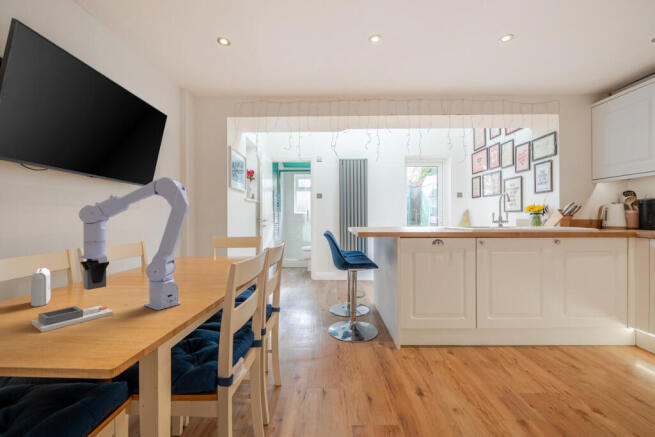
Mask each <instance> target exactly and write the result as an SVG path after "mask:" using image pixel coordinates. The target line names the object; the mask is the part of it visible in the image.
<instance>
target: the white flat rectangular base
mask: <svg viewBox="0 0 655 437" xmlns="http://www.w3.org/2000/svg"><path fill="white" fill-rule="evenodd" d="M111 315H114V310H112V309H110V308H108V307H107V306H106V305H104V306H103V305H98V306H92V307H89V308H83V309H82V308H80V307H78V306H75V305H74V306H68V307H65V308H59V309H56V310H50V311H46V312H45V311H44V312H40V313H38V316H37V318H38V319H35V320H31V325H32V326H34V327H35V328H36V329H37V330H39V331H40V332H42V333H43V332H48V331H51V330H55V329H60V328H64V327H69V326H71V325H76V324H80V323H85V322H88V321H92V320H97V319H99V318H104V317H107V316H111Z"/></svg>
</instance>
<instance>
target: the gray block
mask: <svg viewBox="0 0 655 437" xmlns="http://www.w3.org/2000/svg"><path fill="white" fill-rule="evenodd" d="M82 271H83V289H84V290H86V291H89V290H95V289H101V288H106V287H107V269H106V270H105V272H104V276H103V279H102V282H101V283H96V284H93V282H92V277H91V272H90V270H85V269H83V270H82Z"/></svg>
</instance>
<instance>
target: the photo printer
mask: <svg viewBox="0 0 655 437" xmlns="http://www.w3.org/2000/svg"><path fill="white" fill-rule="evenodd" d="M51 293H52V292H51V271H50V270H49V269H48V268H46V267H41V268H40V267H39V268H37V269H36V270H34V271H33V272H32V273H31V275H30V305H31V307H35V308H36V307H42V306H45V305H47V304H48V303H49V302H50V300H51Z"/></svg>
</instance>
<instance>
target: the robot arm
mask: <svg viewBox="0 0 655 437" xmlns="http://www.w3.org/2000/svg"><path fill="white" fill-rule="evenodd" d="M187 194H188V193H187V188H186V187H185V186H184V184H182V183H181V182H180V181H178V180H174V179H171V178H170V177H167V176H165V177H160V178H158V179H155V180H152V181H151V182H149V183H147V184H145V185H143V186H142V187H140V188H138V189H137V188H136V189H134V190H133V191H131V192H129V193H127V194H125V195H120V194H117V195H115V194H111V195H109V196H108V198H107V199H104V200H103V201H97V202H95V204H94V205H87V204H86V205H84V207H82V208H81V209H80V210H79V213H78V217H79V219H80V221H82V222H83V223H82V224H83V225H82V226H83V228H82V229H83V253H82V254H83V255H78V259H83V260H84V261H80V262H79V263H80V265H81V266H82V267H83V270H90V272H91V277H92V282H93V284H96V283H101V282H102V279H103V276H104V272H105V270H106V271H107V268H108V266H109V265H110V261H108V256H107V249H106V248H107V245H106V244H107V242H106V241H107V236H106V235H107V231H106V229H107V228H106V227H107V222H108V220H109V219H110V218H112V217H115V216H117V215H119V214H121V213H124V212H125V211H128V210H129V208H130V206H131V205H132V204H135V203H137V202H140V201H142V200H144V199H148V198H150V197H152V196H156V197H157V196H158V197H162V198H164V199H165V200H166V201H167V203H168V204H169V206H170V207H171V210H170V213H169V215H168V219H167V222H166V225H165V227H164V231H163V234H162V238H161V241H160V243H159V247H158V249H157V251H156V253H155V254H154V256H153V257H152V260H151V262H150V263H149V264H148V265H147V267H146V268H145V275H146V277H147V278H148V288H149V290H148V294H149V296H148V301H149V302H146V303H143V306H144V307H147V308H150V309H153V310H156V311H160V310H163V309H167V308H171V307H174V306H178V305H181V304H182V302H181V301H179V285H178V283H177V282H175V281H174V274H173V273H174V272H175V270H176V258H177V257H176V249H177V247H178V244H179V240H180V237H181V235H182V233H183V232H182V231H183V228H184V225H185V222H186V219H187V216H188V212H189V210H190V202H189V199H188V195H187Z"/></svg>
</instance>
